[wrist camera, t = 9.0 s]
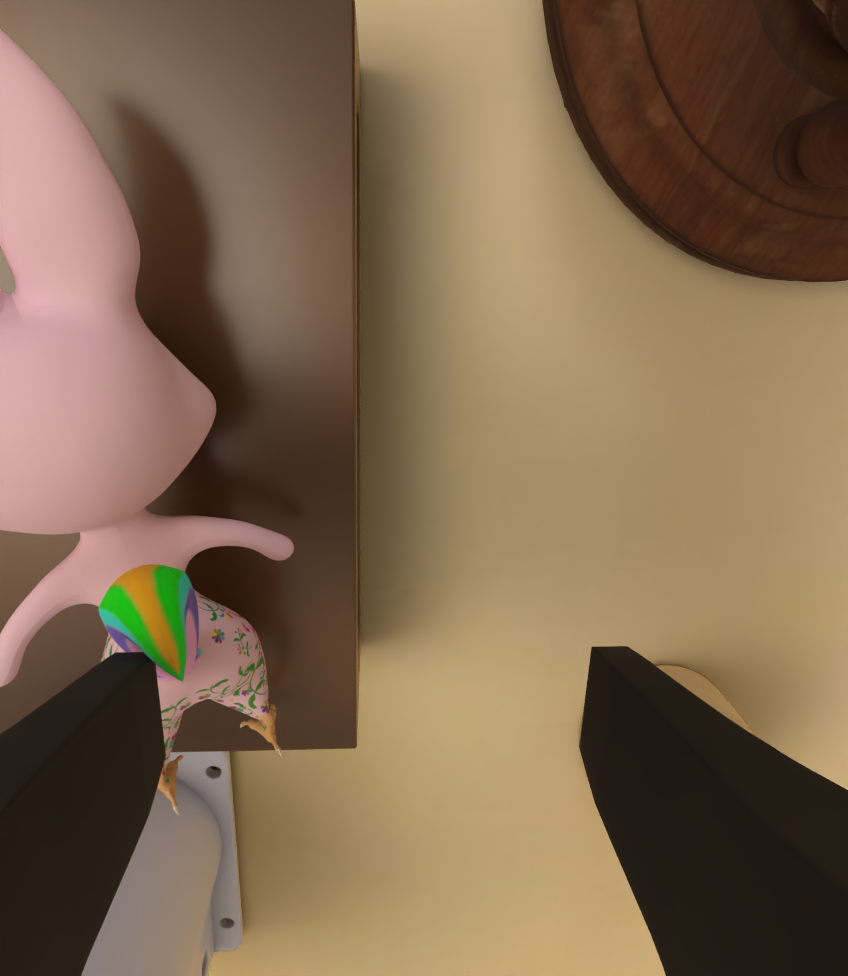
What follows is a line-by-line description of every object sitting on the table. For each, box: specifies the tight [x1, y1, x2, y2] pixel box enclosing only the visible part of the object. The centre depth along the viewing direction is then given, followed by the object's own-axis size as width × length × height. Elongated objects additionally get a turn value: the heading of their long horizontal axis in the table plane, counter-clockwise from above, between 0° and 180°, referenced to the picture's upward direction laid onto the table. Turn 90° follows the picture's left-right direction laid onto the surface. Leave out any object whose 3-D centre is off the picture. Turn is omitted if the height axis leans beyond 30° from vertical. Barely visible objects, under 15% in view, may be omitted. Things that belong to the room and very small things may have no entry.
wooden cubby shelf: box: [0, 0, 360, 752], centre depth 17 cm, size 17×11×5 cm, turn 178°
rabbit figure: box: [0, 29, 294, 815], centre depth 12 cm, size 6×6×15 cm
